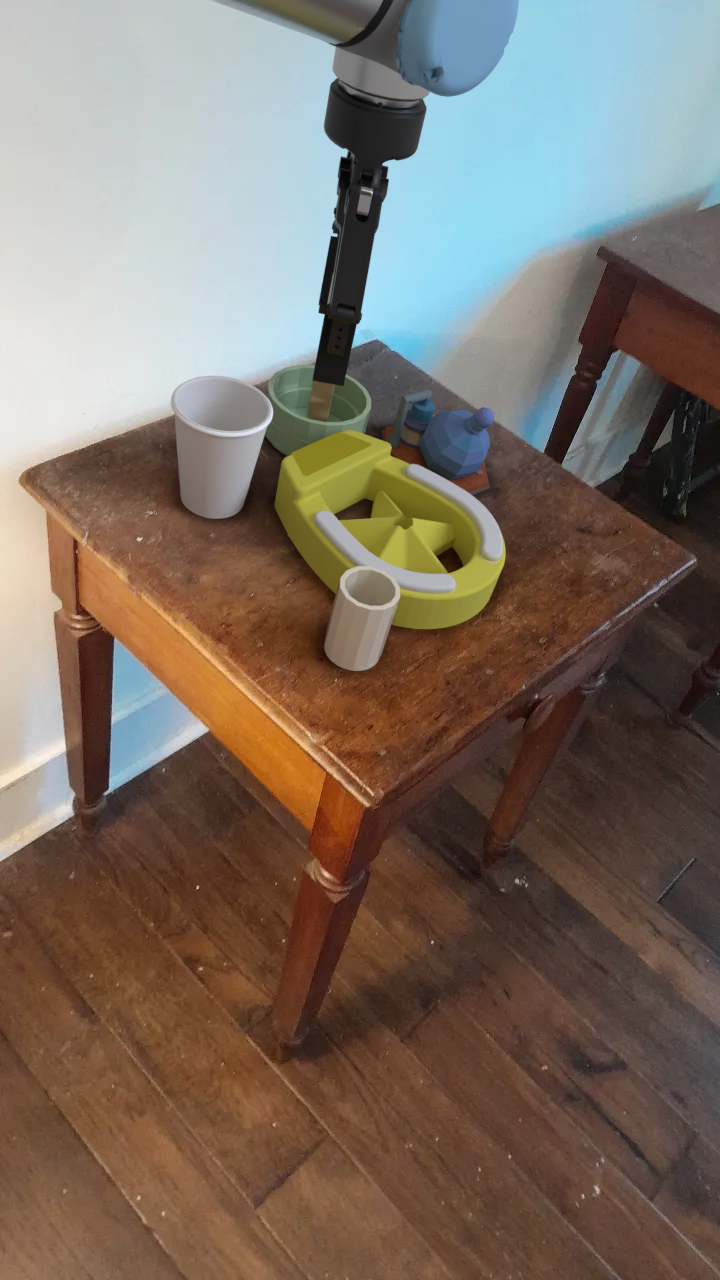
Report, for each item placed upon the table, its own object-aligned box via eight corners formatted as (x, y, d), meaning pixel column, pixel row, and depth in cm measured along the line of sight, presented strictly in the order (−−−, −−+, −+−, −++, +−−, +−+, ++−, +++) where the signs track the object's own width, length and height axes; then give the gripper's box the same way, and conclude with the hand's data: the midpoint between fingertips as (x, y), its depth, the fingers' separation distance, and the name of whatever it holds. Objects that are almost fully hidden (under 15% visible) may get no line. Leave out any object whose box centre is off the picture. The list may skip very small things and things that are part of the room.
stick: (303, 435, 93) (332, 282, 81) (304, 424, 94) (333, 272, 83) (323, 439, 93) (355, 287, 82) (324, 427, 95) (355, 276, 83)
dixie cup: (268, 483, 88) (283, 390, 81) (245, 539, 82) (259, 444, 75) (181, 459, 88) (188, 364, 80) (152, 513, 82) (157, 416, 75)
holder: (322, 667, 74) (339, 604, 69) (324, 624, 77) (340, 561, 72) (380, 675, 74) (400, 613, 69) (380, 632, 77) (399, 570, 72)
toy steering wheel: (365, 457, 94) (375, 414, 90) (528, 577, 86) (547, 536, 82) (241, 517, 84) (247, 472, 80) (413, 658, 76) (429, 616, 73)
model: (505, 484, 95) (535, 406, 89) (437, 508, 90) (464, 427, 84) (429, 418, 101) (453, 340, 94) (362, 437, 96) (382, 356, 89)
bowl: (257, 458, 90) (264, 413, 86) (265, 400, 97) (272, 356, 93) (360, 475, 91) (371, 432, 88) (361, 417, 98) (371, 375, 95)
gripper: (436, 161, 63) (370, 426, 79) (422, 51, 80) (370, 286, 96) (326, 137, 62) (280, 410, 78) (335, 30, 79) (297, 271, 95)
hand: (330, 342), depth 87 cm, fingers open, 13 cm apart
